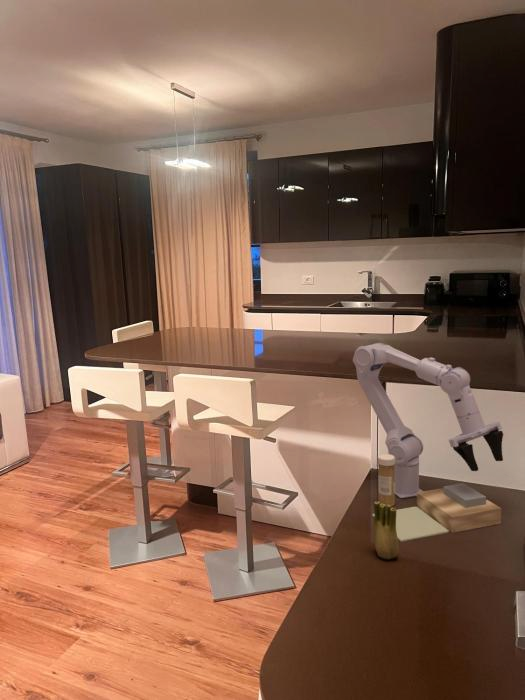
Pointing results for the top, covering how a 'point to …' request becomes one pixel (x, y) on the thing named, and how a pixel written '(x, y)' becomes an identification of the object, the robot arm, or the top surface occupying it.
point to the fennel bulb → (385, 531)
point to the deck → (457, 512)
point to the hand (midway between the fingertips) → (487, 465)
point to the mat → (416, 524)
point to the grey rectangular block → (464, 495)
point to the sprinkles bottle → (386, 479)
